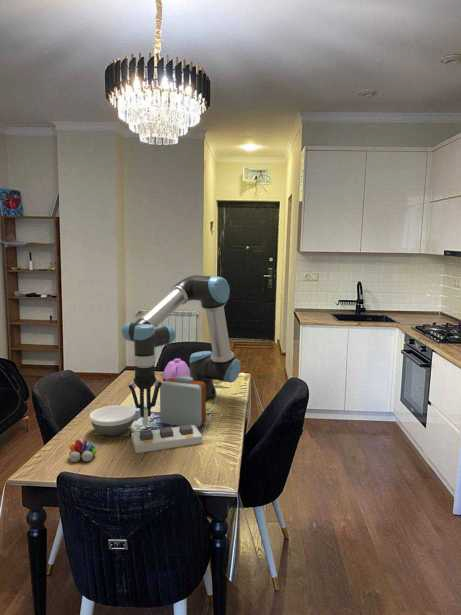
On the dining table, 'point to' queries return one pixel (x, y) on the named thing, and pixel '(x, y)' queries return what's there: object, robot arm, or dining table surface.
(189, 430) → the button
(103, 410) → the bowl
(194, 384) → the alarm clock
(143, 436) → the button
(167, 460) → the dining table surface
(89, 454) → the rainbow disc toy
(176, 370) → the pink cap
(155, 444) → the board
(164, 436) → the button middle
